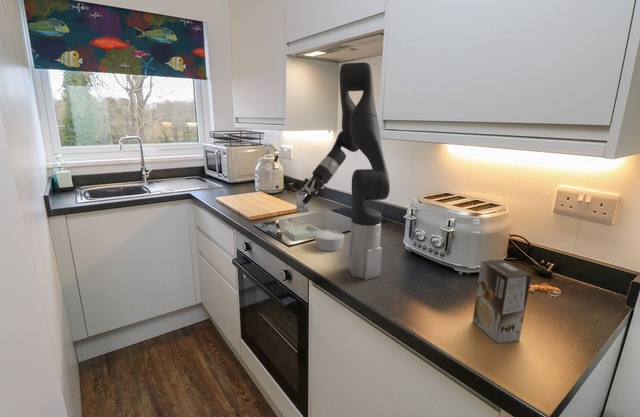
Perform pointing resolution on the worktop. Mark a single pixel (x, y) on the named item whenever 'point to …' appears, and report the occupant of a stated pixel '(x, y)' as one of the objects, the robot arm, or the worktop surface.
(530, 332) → the worktop surface
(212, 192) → the worktop surface
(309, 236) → the tray
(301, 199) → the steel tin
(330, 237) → the ramekin
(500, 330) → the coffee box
